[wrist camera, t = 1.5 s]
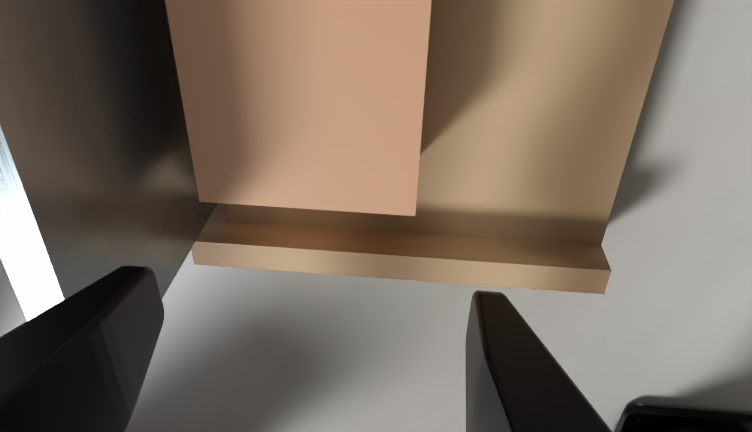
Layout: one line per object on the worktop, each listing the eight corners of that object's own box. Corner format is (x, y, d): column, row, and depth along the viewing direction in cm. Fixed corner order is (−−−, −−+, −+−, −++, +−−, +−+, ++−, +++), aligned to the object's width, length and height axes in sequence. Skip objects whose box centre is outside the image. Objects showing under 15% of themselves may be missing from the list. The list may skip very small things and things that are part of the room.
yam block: (432, -46, 15) (432, -17, 12) (418, 156, 19) (415, 216, 16) (210, -55, 16) (159, -29, 13) (235, 145, 19) (199, 201, 16)
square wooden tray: (713, -224, 14) (774, -237, 12) (584, 241, 22) (603, 294, 19) (152, -237, 15) (95, -251, 12) (220, 216, 23) (194, 264, 20)
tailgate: (137, -167, 15) (174, -166, 15) (198, 189, 21) (224, 191, 21) (-182, -170, 7) (-107, -167, 7) (60, 398, 13) (101, 402, 13)
